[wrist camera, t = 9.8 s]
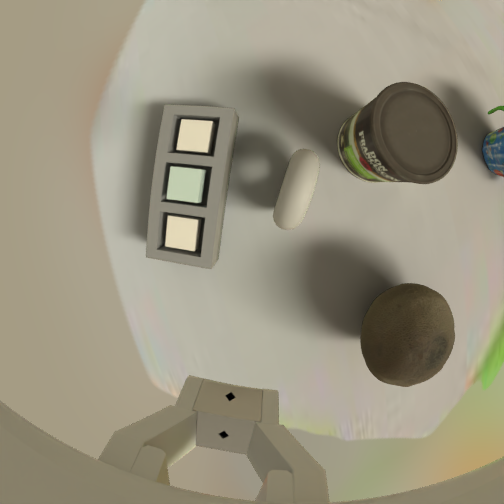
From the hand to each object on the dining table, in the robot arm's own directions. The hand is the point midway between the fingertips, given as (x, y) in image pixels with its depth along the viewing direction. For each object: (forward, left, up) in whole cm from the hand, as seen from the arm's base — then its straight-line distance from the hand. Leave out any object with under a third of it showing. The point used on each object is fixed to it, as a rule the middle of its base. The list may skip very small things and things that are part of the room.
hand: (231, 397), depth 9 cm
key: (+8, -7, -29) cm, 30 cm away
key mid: (+4, -11, -27) cm, 30 cm away
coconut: (-10, +21, -31) cm, 39 cm away
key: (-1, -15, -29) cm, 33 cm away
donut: (-7, -3, -31) cm, 32 cm away
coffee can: (-20, -2, -31) cm, 37 cm away
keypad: (+3, -11, -31) cm, 33 cm away
